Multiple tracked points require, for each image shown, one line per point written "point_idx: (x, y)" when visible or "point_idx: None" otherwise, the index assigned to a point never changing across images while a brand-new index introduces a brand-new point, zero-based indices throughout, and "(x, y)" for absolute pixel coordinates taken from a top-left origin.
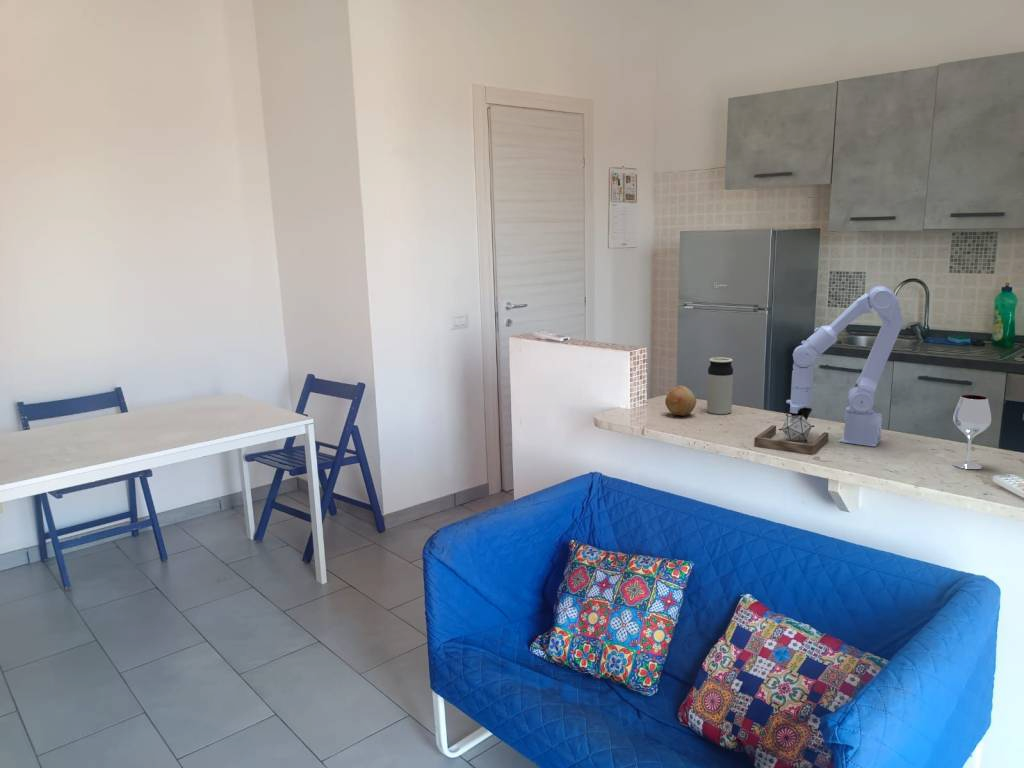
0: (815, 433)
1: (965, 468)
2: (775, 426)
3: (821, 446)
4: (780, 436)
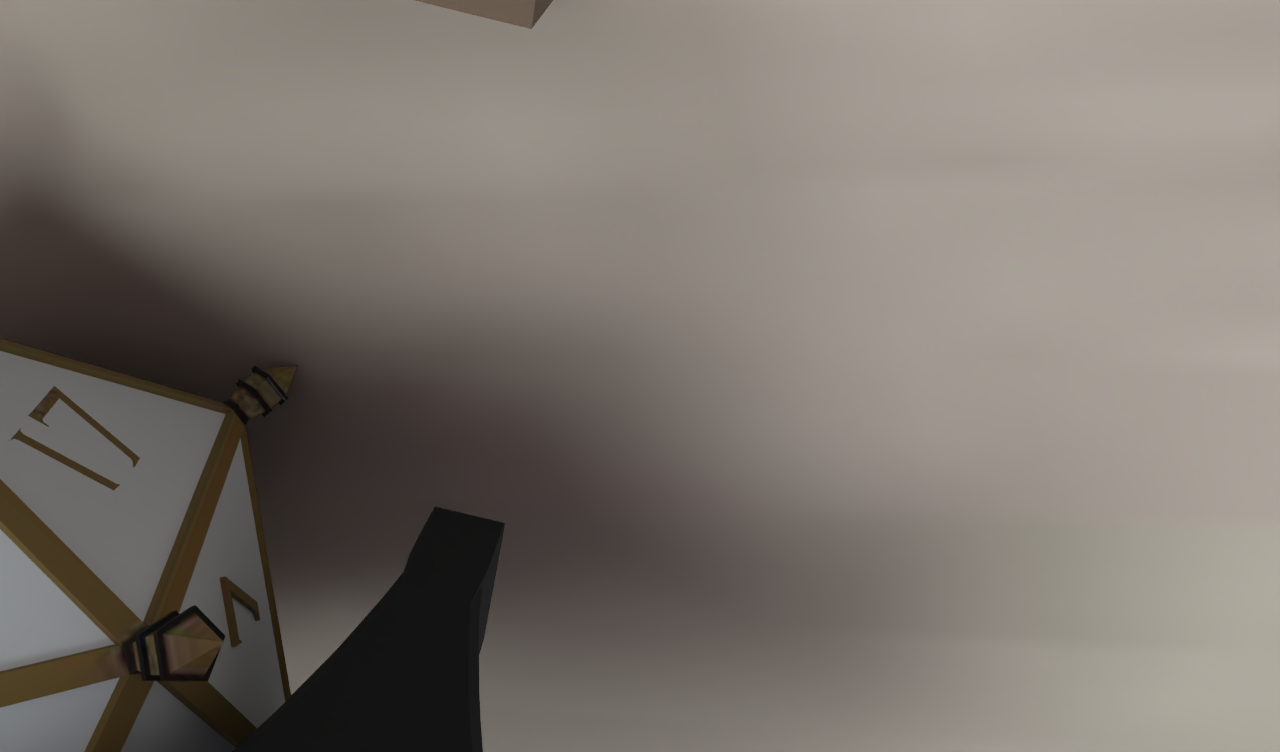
0: (915, 734)
1: None
2: (436, 4)
3: None
4: (378, 109)
